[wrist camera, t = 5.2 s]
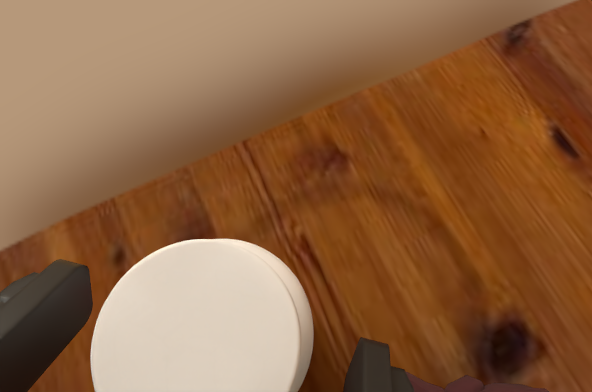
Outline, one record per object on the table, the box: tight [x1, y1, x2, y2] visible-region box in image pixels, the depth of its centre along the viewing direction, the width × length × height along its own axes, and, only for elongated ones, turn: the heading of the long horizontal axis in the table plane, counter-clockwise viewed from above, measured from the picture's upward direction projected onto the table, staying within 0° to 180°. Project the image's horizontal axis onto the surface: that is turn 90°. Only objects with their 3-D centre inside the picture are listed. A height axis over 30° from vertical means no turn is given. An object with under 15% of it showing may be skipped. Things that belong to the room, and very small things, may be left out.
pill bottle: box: [90, 239, 314, 392], centre depth 13 cm, size 6×6×10 cm
